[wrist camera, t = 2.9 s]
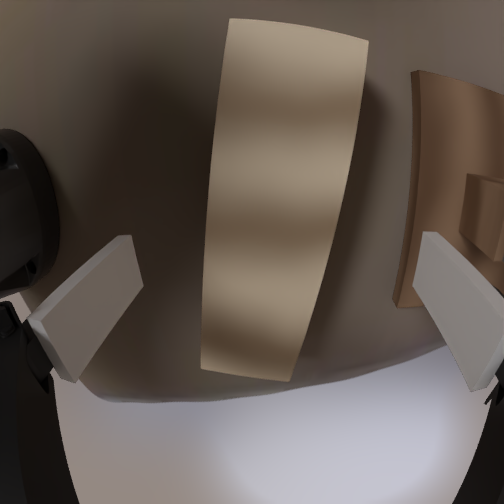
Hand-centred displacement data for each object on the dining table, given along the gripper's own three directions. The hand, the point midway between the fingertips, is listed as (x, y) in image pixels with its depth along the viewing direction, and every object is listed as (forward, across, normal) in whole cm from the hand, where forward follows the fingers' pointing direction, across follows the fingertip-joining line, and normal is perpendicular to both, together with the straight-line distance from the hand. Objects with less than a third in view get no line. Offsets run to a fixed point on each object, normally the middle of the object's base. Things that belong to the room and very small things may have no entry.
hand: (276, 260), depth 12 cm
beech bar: (+7, 0, 0) cm, 7 cm away
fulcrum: (+7, +14, +1) cm, 16 cm away
